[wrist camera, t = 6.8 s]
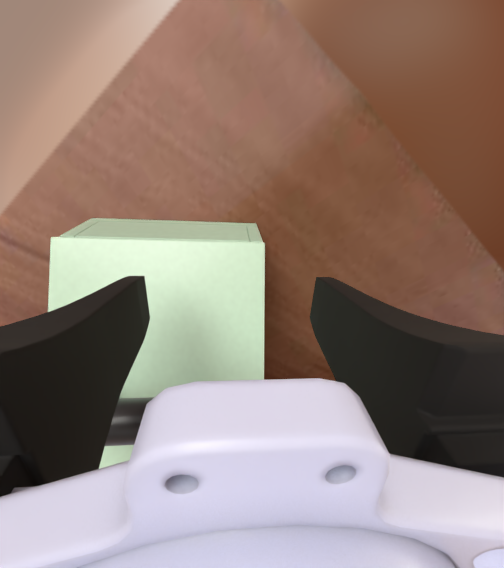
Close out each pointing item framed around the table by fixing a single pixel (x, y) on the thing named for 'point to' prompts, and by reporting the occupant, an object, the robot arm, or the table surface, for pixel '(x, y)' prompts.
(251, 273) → the lid
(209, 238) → the green lidded box
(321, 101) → the table surface
